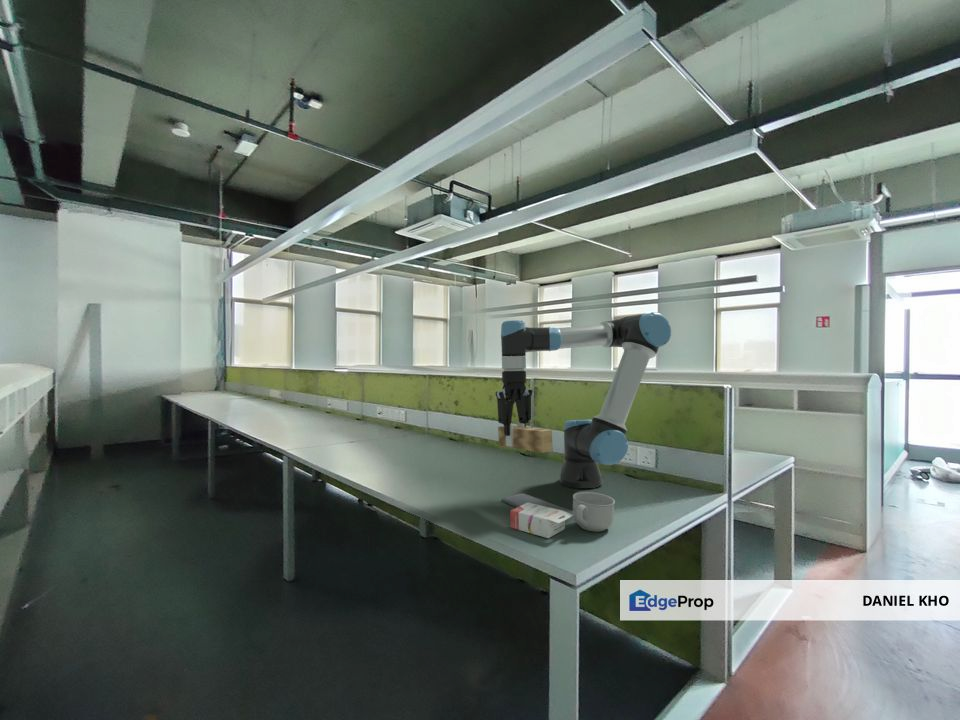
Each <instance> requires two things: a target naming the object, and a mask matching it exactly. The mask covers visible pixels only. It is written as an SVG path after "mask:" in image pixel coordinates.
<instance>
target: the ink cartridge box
mask: <svg viewBox="0 0 960 720" xmlns="http://www.w3.org/2000/svg"><path fill="white" fill-rule="evenodd" d="M509 512H510V513H509V515H510V516H509V517H510V529H514V530H518V531H522V532H524V533H525V532H526V533H529V534H531V535H536V536H538V537H539V536H540V537H542V538H544V539H545V538H546V539H550V538H551V537H553V536H556V534H559V533H561V532H562V531H564V530H566V524H565V522H566V521H567V520H568V519H570V518H572V517H573V516H574V515H573V514H571V513H568V512H565V511H562V510H558V509H553V508H549V507H545V506H541V505H536V504H532V503H525V504H523V505H521V506H519V507H514V508H513V509H511V510H510V511H509ZM564 516H565V517H564Z"/></svg>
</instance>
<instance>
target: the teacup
mask: <svg viewBox="0 0 960 720" xmlns="http://www.w3.org/2000/svg"><path fill="white" fill-rule="evenodd" d="M615 504H616V500H615V499H614V498H612V497H611V496H609V495H606V494H603V493H601V492H593V491H580V492H575V493H573V494H572V511H573V515H574V516H572V517H573V520H574V522H576V524H577V525H579V527H580V528H581V529H583V530H586V531H589V532H597V533H598V532H599V533H600V532H603V531H606V529H608V528H610V527H611V525H612V524H613V521H614V514H615Z"/></svg>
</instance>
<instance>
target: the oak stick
mask: <svg viewBox="0 0 960 720" xmlns="http://www.w3.org/2000/svg"><path fill="white" fill-rule="evenodd" d="M497 433H498V446H499V447H505V448H510V449H516V450H517V449H518V450H524V451H530V452H535V453H536V452H537V453H542V454H544V453H548V452H553V451H554V448H553V447H554V446H553V432H552V429H547V428H537V427H534V428H533V427H527V426H526V427H517V425H515V426H514V425H513V447H510V446H506V435H504V425H503V426H502V425H501V426H498V427H497Z"/></svg>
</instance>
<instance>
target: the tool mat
mask: <svg viewBox="0 0 960 720" xmlns="http://www.w3.org/2000/svg"><path fill="white" fill-rule="evenodd" d="M501 502H504V503H505V504H508V505H511V506H514V508H517V507H519V506H521V505H523V504H525V503H532V504H536V505H541V506H545V507H549V508H553V509H558V510H562V511H565V512H568V513H571V514H573V510H571V509H568V508H565V507H562V506H559V505H556V504H555V503H550V502H548V501H545V500H543V499H540V498H538V497H535V496H532V495H529V494H526V493H518V494H515V495H511V496H506V497H502V498H501ZM564 517H565V516H564Z"/></svg>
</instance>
